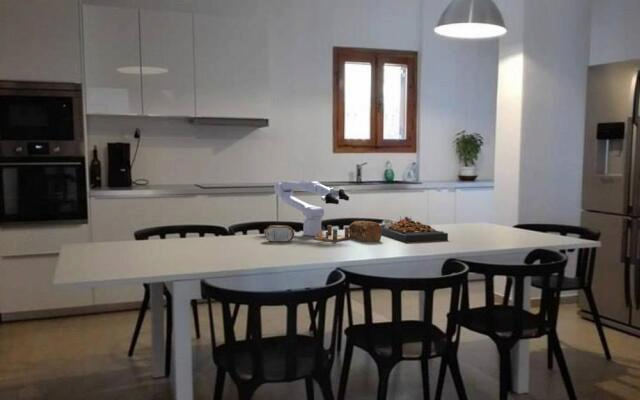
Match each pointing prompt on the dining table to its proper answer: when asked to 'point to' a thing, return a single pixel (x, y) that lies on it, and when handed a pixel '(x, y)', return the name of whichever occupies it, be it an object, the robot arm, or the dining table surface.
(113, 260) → the dining table surface
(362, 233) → the bread
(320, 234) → the gate leg
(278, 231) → the tin
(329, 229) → the stool frame
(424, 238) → the food platter
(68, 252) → the dining table surface
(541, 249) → the dining table surface
